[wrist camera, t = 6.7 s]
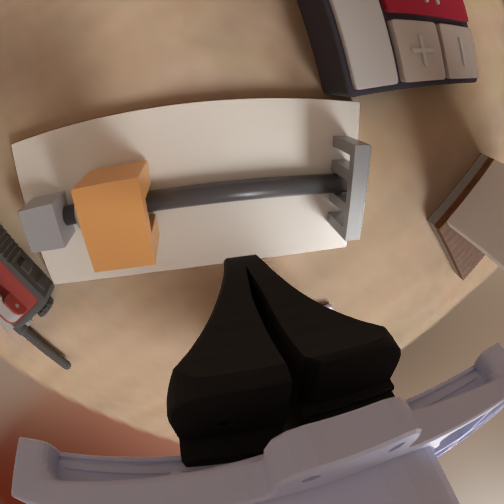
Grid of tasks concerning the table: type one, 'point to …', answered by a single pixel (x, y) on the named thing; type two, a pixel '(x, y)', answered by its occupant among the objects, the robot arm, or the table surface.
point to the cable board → (205, 180)
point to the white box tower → (473, 218)
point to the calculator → (389, 44)
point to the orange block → (117, 216)
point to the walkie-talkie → (24, 294)
